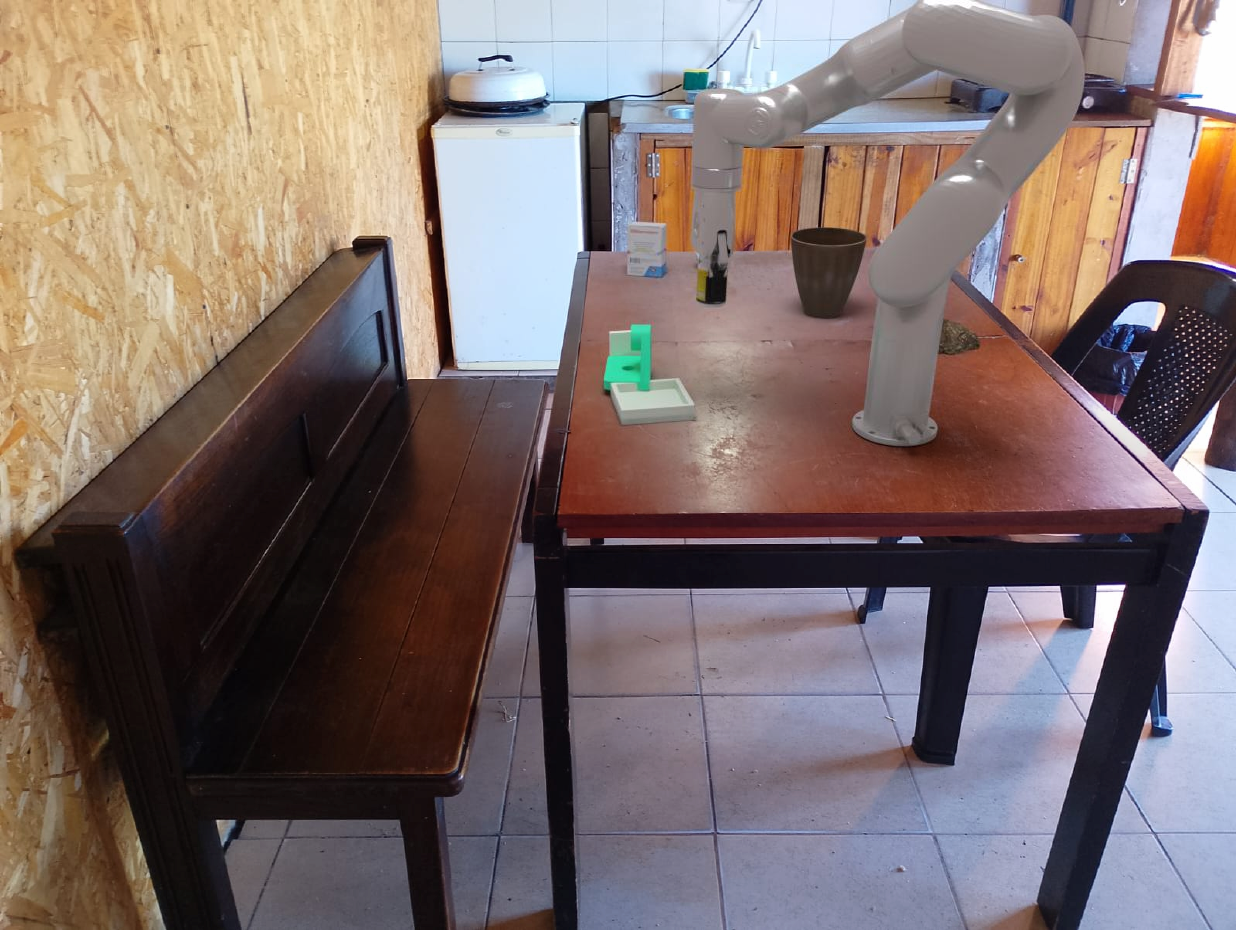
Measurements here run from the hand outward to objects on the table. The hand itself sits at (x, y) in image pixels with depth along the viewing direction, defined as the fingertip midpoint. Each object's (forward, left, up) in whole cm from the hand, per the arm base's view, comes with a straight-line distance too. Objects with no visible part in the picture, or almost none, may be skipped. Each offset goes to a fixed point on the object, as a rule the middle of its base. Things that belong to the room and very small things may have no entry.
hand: (711, 295), depth 152 cm
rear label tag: (+15, +11, -18) cm, 26 cm away
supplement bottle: (0, 0, -2) cm, 2 cm away
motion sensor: (+77, -20, -18) cm, 82 cm away
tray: (-3, +10, -17) cm, 20 cm away
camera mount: (+9, +12, -18) cm, 23 cm away
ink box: (+75, -4, -18) cm, 78 cm away
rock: (+18, -49, -18) cm, 55 cm away
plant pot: (+39, -34, -18) cm, 55 cm away
